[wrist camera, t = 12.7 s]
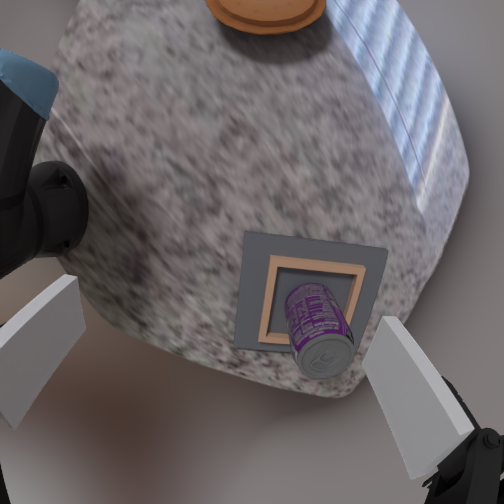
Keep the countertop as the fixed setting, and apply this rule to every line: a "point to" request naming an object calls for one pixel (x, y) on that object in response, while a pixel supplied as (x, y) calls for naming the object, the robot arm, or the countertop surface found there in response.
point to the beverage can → (318, 332)
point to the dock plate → (298, 273)
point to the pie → (267, 14)
